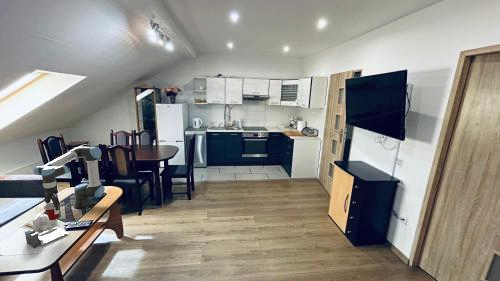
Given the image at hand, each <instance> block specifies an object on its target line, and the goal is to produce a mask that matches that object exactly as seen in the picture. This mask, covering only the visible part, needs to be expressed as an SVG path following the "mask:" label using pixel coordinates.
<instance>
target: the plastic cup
mask: <svg viewBox="0 0 500 281" xmlns="http://www.w3.org/2000/svg"><path fill="white" fill-rule="evenodd" d="M49 203H50V202H49ZM59 203H60V206H59V213H58V214H56V215H55V212H54V204H53V202H51V203H50V204H47V203H46V204H47V205H46V204H45V205H44V206H43V210H45V211H44V212H45V213H46V215H48V217H49V219H50V220H56V219H57V220H58V219H59V218H60V212H61V206H62V202H60V201H59ZM57 220H56V221H57Z"/></svg>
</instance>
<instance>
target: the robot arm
mask: <svg viewBox="0 0 500 281" xmlns="http://www.w3.org/2000/svg"><path fill="white" fill-rule="evenodd" d="M101 156H102V150H101V148H99V147H98V146H78V147H75V148H72V149H70V150H68V151H67V152H66V153H65V154H63V155H61V156H58V157H57V158H55V159H53V160H52V161H50V162H48V163H46V164H44V165H39V166H38V165H37V166H35V167H34V168H33V174H34V175H36V176H41V178H42V186H43V191H44V192H43V193H44V203H45V205H47V204H50V203H53V204H54V212H55V215H56V214H58V213H59V206H60V203H61V202H60V200H59V196H58V193H55V192H56V191H57V190H58V189H57V180H56V178H58V177H61V176H63V175H65V174H68V172H69V167H68V166H66V165H65V164H68V163H69V162H71V161H73V160H76V159H82V158H83V159H84V161H85V162H86V163H87V173H88V183H87V182H86V183H80V184H78V185H75V187H74V189H73V190H74V192H73V193H74V198H75V201H74V204H73V207H74V209H76V210H81V209H86V208H89V207H90V206H92V205H93V200H92V198H100V197H102V196H103V195H104V193H105V190H106V189H105V186H104V185H102V182H100V173H99V163H98V162H99V160H100V158H101ZM59 202H60V203H59ZM60 207H61V206H60Z"/></svg>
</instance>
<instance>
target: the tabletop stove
mask: <svg viewBox="0 0 500 281" xmlns="http://www.w3.org/2000/svg"><path fill="white" fill-rule="evenodd" d="M69 234H70V233H69V232H67V231H65V230H63V229H62V228H60V227H58V226H56V227H53V228H49V230H46V231H43V232H42V233H39V232H37V231H36V229H34V228H28V229H26V230H24V236H25V241H26V244H27V245H29V246H30V247H32V249H36V248H38V247H45V246H47V245H49V244H51V243H53V242H56V241H57V240H60V239H62V238H63V237H66V236H68V235H69Z"/></svg>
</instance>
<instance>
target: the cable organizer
mask: <svg viewBox="0 0 500 281" xmlns="http://www.w3.org/2000/svg"><path fill="white" fill-rule="evenodd" d="M57 220H58V219H56V220H50V219H49V217H48V215H47V214H45V211H42V212H41V211H40V212H39V214H37V215H36V216H35V217H34V218H33V220H31V222H32V226H33V229H36V232H37V231H39V230H40V229H42V228H43V226H45V228H47V229H52V227H53V226H54V225H55V223H56V222H57Z"/></svg>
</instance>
